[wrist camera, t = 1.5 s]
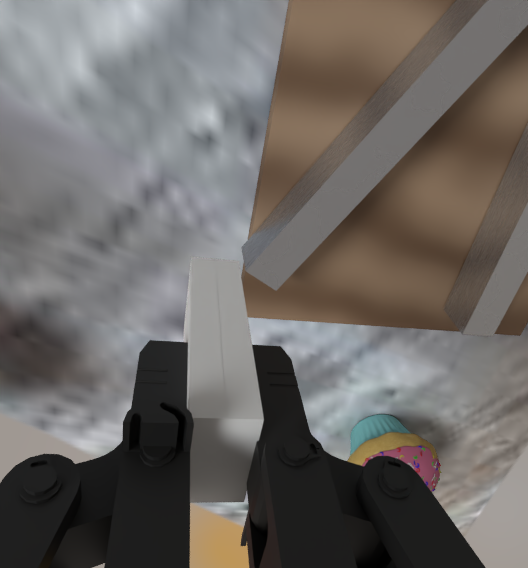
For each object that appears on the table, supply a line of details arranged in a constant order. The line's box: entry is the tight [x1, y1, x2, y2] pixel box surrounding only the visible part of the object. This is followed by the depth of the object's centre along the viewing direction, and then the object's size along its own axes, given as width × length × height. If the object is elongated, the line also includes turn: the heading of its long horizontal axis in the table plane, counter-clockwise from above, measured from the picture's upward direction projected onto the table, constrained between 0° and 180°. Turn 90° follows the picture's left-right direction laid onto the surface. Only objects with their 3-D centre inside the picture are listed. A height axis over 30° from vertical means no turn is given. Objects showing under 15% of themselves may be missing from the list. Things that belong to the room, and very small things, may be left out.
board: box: [241, 0, 528, 336], centre depth 28 cm, size 30×23×1 cm
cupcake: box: [347, 414, 441, 492], centre depth 39 cm, size 9×8×12 cm
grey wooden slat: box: [242, 0, 528, 291], centre depth 26 cm, size 20×2×3 cm, turn 140°
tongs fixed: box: [443, 123, 528, 336], centre depth 27 cm, size 25×7×3 cm, turn 170°
